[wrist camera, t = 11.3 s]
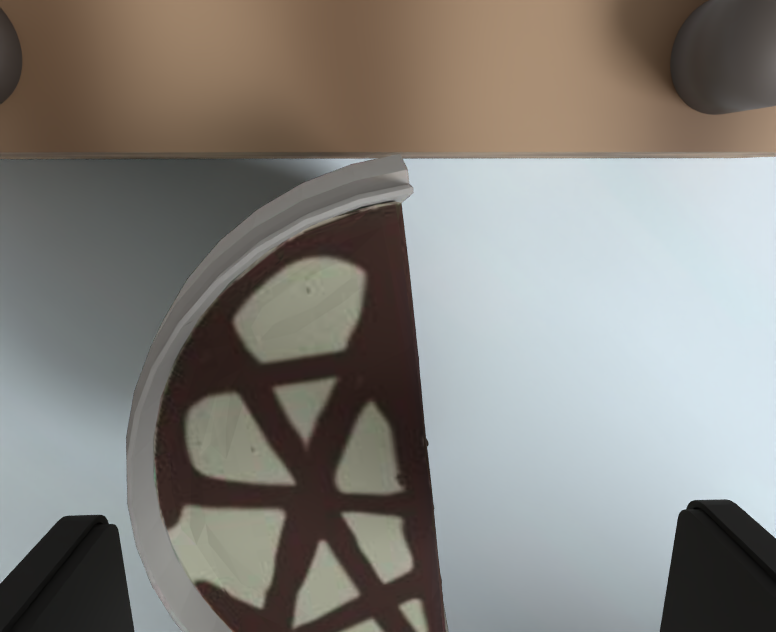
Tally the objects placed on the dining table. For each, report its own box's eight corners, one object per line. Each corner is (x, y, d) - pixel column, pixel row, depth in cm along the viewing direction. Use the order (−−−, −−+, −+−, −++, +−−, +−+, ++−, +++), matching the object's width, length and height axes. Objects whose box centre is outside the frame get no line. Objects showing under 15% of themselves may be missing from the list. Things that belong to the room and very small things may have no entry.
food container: (200, 182, 17) (-11, 199, 7) (384, 160, 17) (410, 149, 8) (266, 499, 20) (180, 790, 11) (419, 480, 21) (468, 752, 11)
